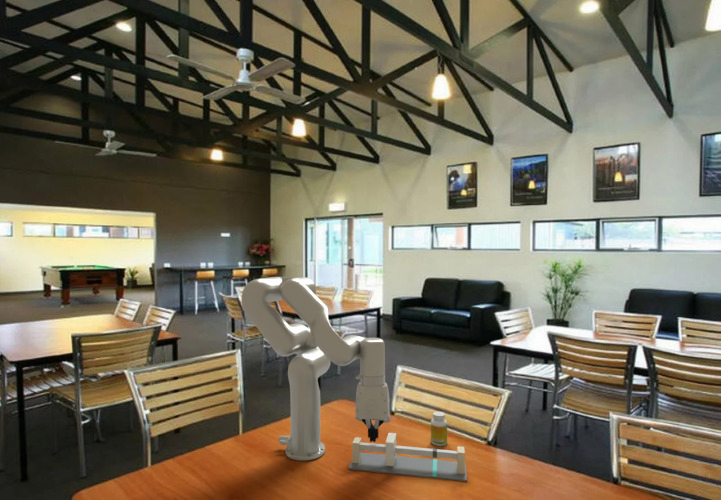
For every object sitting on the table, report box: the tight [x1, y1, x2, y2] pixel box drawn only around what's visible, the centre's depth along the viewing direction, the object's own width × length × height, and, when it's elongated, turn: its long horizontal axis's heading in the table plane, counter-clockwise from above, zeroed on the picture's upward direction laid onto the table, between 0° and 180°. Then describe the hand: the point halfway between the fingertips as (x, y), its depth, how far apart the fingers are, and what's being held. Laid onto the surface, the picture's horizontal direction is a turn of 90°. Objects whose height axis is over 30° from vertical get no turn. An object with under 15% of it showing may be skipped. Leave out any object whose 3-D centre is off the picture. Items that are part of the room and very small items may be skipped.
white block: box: [385, 432, 397, 466], centre depth 126 cm, size 2×7×7 cm, turn 169°
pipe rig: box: [348, 436, 468, 482], centre depth 125 cm, size 34×10×6 cm, turn 79°
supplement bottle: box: [430, 411, 448, 447], centre depth 141 cm, size 5×5×10 cm
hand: (373, 439), depth 128 cm, fingers closed
